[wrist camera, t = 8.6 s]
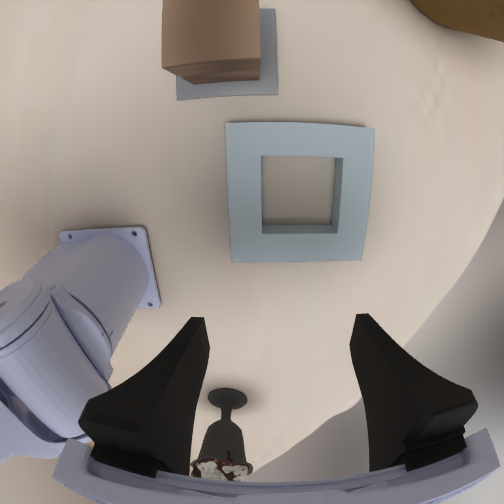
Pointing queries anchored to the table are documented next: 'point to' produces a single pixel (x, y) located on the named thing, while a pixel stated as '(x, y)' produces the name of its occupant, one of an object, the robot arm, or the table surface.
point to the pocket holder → (298, 236)
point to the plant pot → (467, 15)
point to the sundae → (223, 442)
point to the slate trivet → (241, 88)
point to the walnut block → (211, 40)
